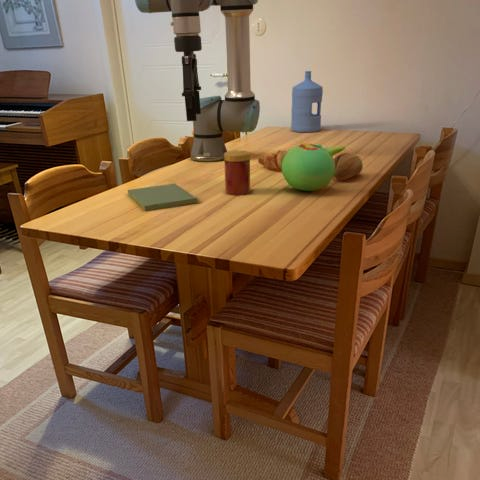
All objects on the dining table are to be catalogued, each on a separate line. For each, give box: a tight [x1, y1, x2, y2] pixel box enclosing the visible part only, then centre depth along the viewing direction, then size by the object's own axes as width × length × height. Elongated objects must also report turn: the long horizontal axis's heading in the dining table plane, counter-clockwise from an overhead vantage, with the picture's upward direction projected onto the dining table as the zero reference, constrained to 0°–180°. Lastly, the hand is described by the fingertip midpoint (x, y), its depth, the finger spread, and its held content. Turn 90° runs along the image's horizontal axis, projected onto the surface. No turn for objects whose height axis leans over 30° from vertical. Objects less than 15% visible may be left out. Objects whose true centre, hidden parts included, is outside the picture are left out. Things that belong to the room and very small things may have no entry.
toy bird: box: [281, 141, 346, 192], centre depth 153 cm, size 18×17×15 cm
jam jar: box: [223, 158, 251, 196], centre depth 153 cm, size 8×8×11 cm
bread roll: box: [333, 152, 364, 181], centre depth 166 cm, size 10×15×8 cm, turn 149°
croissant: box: [257, 149, 288, 172], centre depth 180 cm, size 21×10×8 cm, turn 63°
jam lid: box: [224, 150, 251, 162], centre depth 150 cm, size 8×8×2 cm
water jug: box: [290, 70, 324, 133], centre depth 250 cm, size 16×16×28 cm
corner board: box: [127, 183, 198, 212], centre depth 150 cm, size 20×16×2 cm
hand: (194, 117), depth 145 cm, fingers open, 13 cm apart
